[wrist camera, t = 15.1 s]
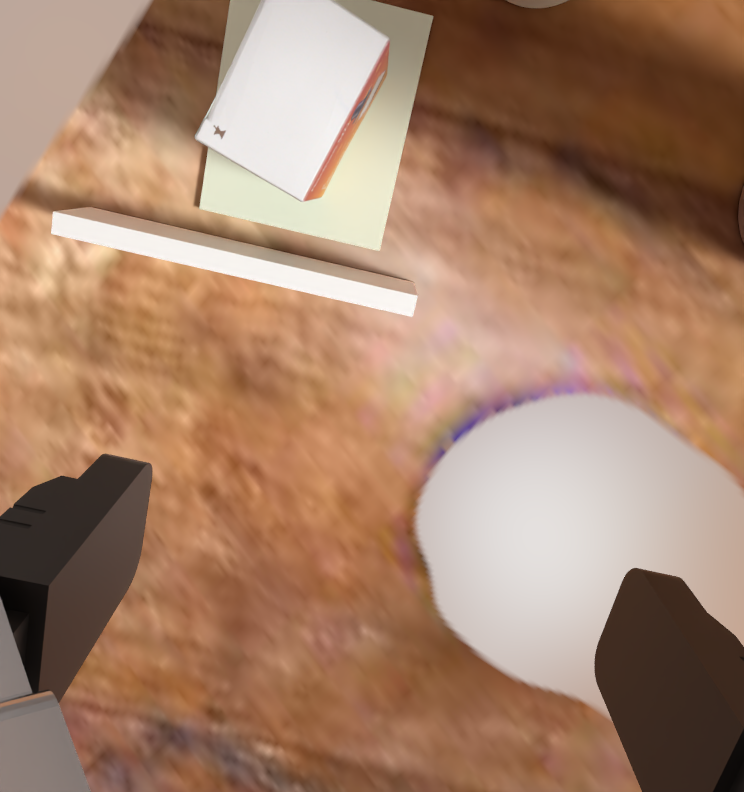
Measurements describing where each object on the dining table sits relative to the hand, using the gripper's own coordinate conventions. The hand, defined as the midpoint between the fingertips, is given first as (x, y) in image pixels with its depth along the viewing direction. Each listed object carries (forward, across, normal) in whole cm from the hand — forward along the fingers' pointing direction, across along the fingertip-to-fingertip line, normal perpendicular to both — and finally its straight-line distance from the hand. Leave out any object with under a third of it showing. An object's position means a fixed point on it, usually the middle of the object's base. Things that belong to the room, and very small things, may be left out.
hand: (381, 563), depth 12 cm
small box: (+33, +6, -8) cm, 34 cm away
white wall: (+33, +8, 0) cm, 34 cm away
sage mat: (+33, +6, -8) cm, 35 cm away
